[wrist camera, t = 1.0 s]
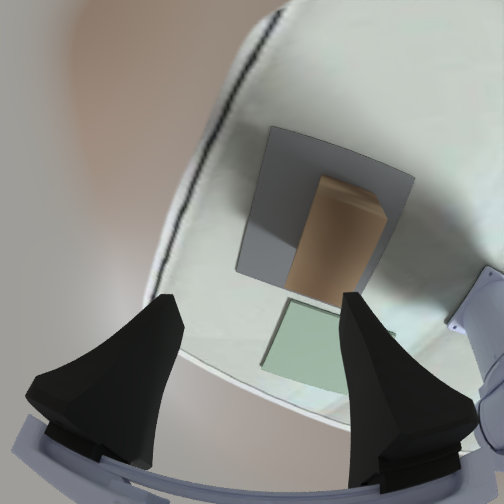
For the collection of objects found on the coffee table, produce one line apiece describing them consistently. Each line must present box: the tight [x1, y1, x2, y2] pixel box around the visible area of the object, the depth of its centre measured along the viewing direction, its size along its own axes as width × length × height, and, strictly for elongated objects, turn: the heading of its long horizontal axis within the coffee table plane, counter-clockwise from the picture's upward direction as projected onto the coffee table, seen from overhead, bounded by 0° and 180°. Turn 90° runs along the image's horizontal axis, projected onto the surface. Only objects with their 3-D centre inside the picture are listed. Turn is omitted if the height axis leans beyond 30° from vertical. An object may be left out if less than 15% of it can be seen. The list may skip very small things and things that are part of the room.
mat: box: [261, 300, 396, 395], centre depth 29 cm, size 12×12×1 cm
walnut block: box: [284, 174, 388, 307], centre depth 19 cm, size 4×7×6 cm, turn 167°
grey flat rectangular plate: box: [236, 126, 415, 309], centre depth 23 cm, size 12×14×1 cm
